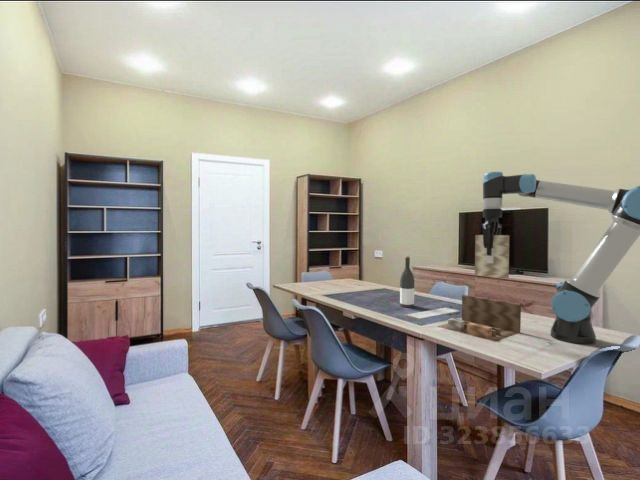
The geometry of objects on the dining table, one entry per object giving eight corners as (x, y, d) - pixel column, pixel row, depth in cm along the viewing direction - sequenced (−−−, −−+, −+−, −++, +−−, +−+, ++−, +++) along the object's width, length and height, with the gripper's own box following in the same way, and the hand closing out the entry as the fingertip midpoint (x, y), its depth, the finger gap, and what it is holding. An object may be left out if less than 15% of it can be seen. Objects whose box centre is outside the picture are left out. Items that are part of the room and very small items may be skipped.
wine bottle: (399, 306, 200) (400, 255, 199) (400, 304, 208) (400, 254, 207) (413, 307, 198) (414, 255, 197) (414, 304, 206) (414, 254, 205)
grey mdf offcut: (464, 330, 148) (464, 321, 148) (460, 331, 147) (460, 322, 147) (451, 327, 153) (451, 318, 153) (447, 328, 152) (447, 319, 151)
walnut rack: (520, 336, 146) (520, 304, 145) (494, 345, 133) (495, 310, 133) (463, 322, 167) (463, 294, 166) (436, 329, 154) (437, 299, 154)
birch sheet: (508, 278, 145) (509, 235, 144) (506, 278, 144) (507, 235, 143) (476, 274, 156) (477, 234, 155) (474, 275, 155) (475, 234, 155)
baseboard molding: (402, 316, 181) (419, 321, 171) (402, 310, 181) (419, 315, 171) (441, 309, 197) (459, 313, 187) (441, 304, 197) (459, 308, 187)
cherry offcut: (491, 337, 139) (492, 327, 139) (487, 338, 137) (488, 328, 137) (470, 331, 146) (471, 322, 146) (466, 333, 144) (467, 323, 144)
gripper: (492, 209, 156) (491, 261, 157) (474, 208, 148) (473, 263, 148) (509, 208, 150) (508, 262, 151) (492, 207, 142) (491, 264, 142)
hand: (491, 262), depth 150 cm, fingers closed on birch sheet, 2 cm apart
